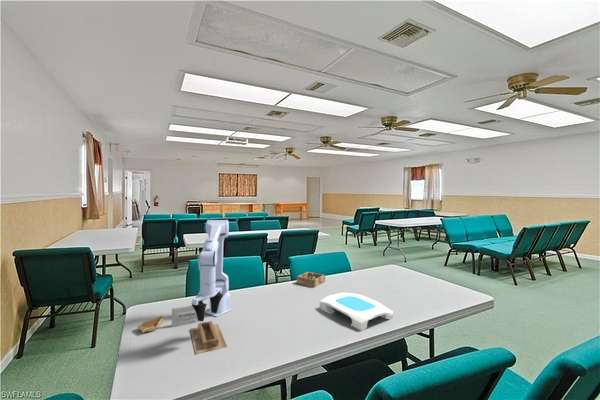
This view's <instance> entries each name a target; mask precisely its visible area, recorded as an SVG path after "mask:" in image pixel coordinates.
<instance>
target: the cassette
mask: <svg viewBox="0 0 600 400" xmlns="http://www.w3.org/2000/svg"><path fill="white" fill-rule="evenodd" d="M189 313H190V314H189ZM185 314H186V315H185ZM199 322H200V323H201V321H198V318H197V314H196V312H195V309H194V308H193V306H192V304H191V305H184V306H178V307H172V308H171V327H172V328H174V327H180V326H185V325H190V324H196V323H197V324H198V323H199Z"/></svg>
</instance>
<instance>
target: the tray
mask: <svg viewBox="0 0 600 400" xmlns="http://www.w3.org/2000/svg"><path fill="white" fill-rule="evenodd" d="M190 336H191V340H192V344H193V350H194V354H195V356H196V355H198V354H203V353H207V352H212V351H215V350H220V349H225V348H227V347H228V345H227V343H226V340H225V338H224V335H223V333H222V330H221V328H220V326H219V323H214V324H213V321H212V320H209V321H205V322H204V321H202V322H200V323H199V322H197V327H192V328H191V327H190Z"/></svg>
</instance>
